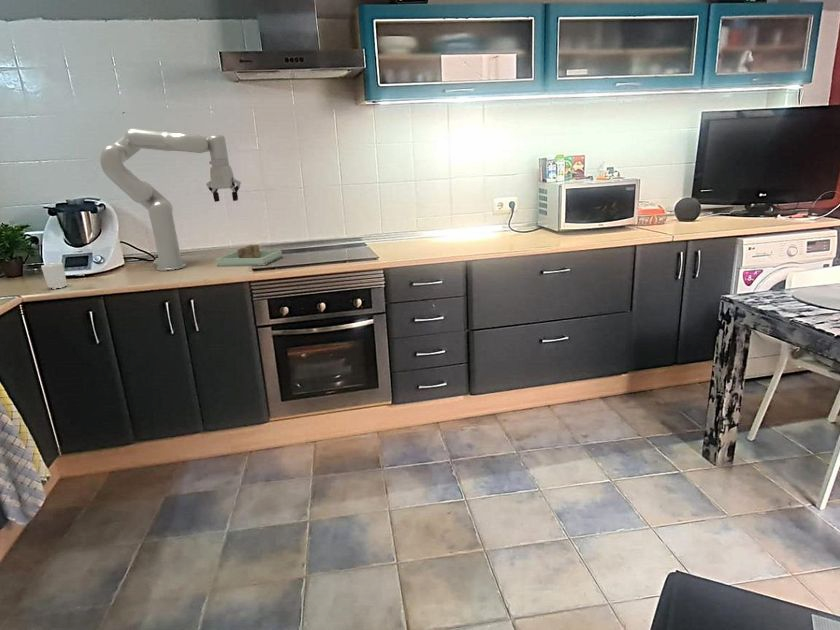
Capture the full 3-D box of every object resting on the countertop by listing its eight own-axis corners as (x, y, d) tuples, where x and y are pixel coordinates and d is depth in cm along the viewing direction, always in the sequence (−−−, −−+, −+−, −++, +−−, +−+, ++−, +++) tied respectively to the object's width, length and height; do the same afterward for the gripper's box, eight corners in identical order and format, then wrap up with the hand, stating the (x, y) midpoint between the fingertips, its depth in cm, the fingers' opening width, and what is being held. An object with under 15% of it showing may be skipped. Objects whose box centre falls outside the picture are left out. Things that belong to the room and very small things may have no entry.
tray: (217, 266, 264) (215, 258, 263) (237, 258, 281) (236, 251, 280) (264, 265, 258) (262, 258, 257) (282, 257, 275) (281, 250, 274)
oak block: (247, 259, 271) (245, 246, 269) (252, 257, 275) (250, 244, 273) (255, 259, 270) (253, 246, 268) (260, 257, 274) (258, 244, 272)
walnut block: (239, 262, 265) (237, 249, 263) (244, 260, 269) (242, 247, 267) (248, 262, 264) (246, 249, 262) (253, 260, 268) (251, 247, 266)
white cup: (42, 289, 239) (36, 266, 236) (59, 285, 246) (54, 262, 243) (55, 290, 237) (49, 266, 234) (72, 285, 244) (67, 262, 241)
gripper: (198, 164, 261) (205, 202, 266) (232, 162, 257) (238, 201, 262) (208, 163, 268) (214, 200, 273) (241, 161, 264) (247, 199, 269)
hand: (226, 201), depth 267 cm, fingers open, 9 cm apart
